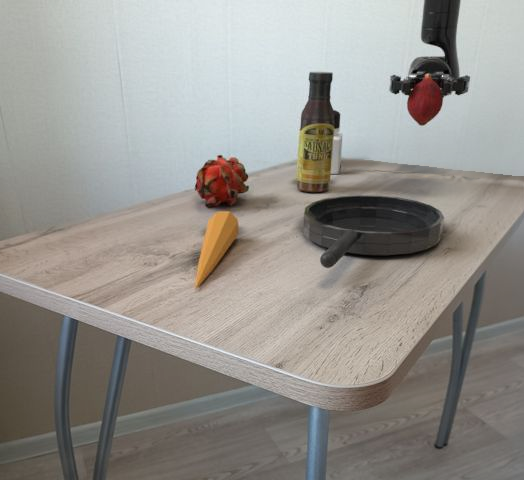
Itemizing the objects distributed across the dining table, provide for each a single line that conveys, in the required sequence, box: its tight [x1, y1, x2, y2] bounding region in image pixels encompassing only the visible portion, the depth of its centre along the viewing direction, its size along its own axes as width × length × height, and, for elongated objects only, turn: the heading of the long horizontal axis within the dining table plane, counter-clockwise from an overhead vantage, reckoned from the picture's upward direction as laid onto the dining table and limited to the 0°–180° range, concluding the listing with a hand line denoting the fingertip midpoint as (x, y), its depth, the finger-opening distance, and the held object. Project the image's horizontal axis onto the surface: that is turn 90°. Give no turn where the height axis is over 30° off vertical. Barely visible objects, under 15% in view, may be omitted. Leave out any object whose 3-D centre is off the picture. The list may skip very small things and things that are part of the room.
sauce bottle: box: [296, 71, 335, 193], centre depth 99 cm, size 6×6×20 cm
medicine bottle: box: [330, 109, 343, 175], centre depth 116 cm, size 7×7×12 cm
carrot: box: [194, 210, 240, 291], centre depth 70 cm, size 20×4×4 cm, turn 173°
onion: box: [406, 74, 444, 126], centre depth 93 cm, size 6×6×8 cm
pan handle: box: [319, 230, 358, 269], centre depth 66 cm, size 11×2×2 cm, turn 155°
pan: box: [302, 194, 445, 257], centre depth 78 cm, size 19×19×4 cm
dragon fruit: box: [194, 154, 250, 208], centre depth 93 cm, size 8×8×12 cm
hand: (426, 88), depth 89 cm, fingers closed on onion, 5 cm apart
